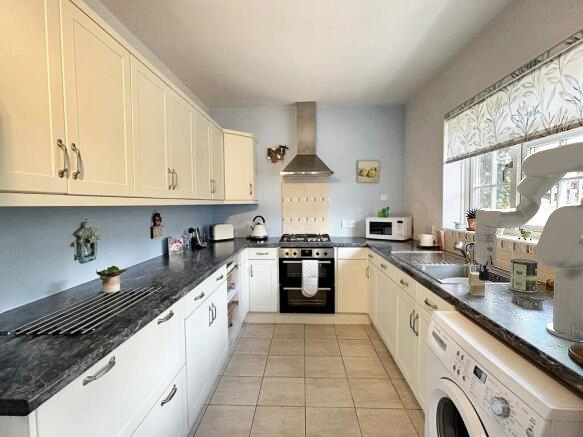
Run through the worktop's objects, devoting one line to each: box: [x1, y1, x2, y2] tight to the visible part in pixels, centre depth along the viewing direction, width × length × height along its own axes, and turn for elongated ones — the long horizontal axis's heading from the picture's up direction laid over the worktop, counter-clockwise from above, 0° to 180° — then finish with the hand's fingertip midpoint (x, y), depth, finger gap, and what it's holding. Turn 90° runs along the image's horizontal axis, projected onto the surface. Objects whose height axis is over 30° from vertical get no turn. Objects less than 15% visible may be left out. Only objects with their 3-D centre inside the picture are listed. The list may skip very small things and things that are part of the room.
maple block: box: [467, 271, 486, 298], centre depth 132 cm, size 5×5×10 cm
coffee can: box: [509, 258, 539, 294], centre depth 138 cm, size 10×10×14 cm
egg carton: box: [510, 292, 545, 310], centre depth 119 cm, size 11×8×4 cm
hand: (483, 280), depth 123 cm, fingers closed
